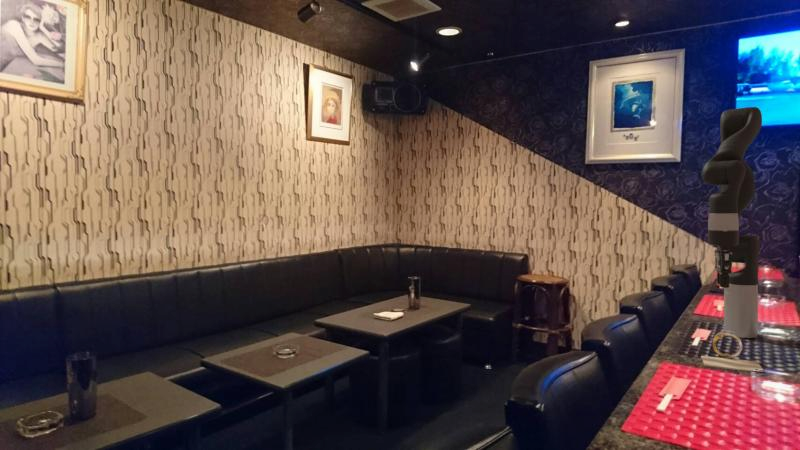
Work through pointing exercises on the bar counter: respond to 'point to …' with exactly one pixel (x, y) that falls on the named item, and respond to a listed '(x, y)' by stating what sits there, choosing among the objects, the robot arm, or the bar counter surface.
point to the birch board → (730, 363)
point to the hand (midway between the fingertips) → (723, 285)
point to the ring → (727, 333)
